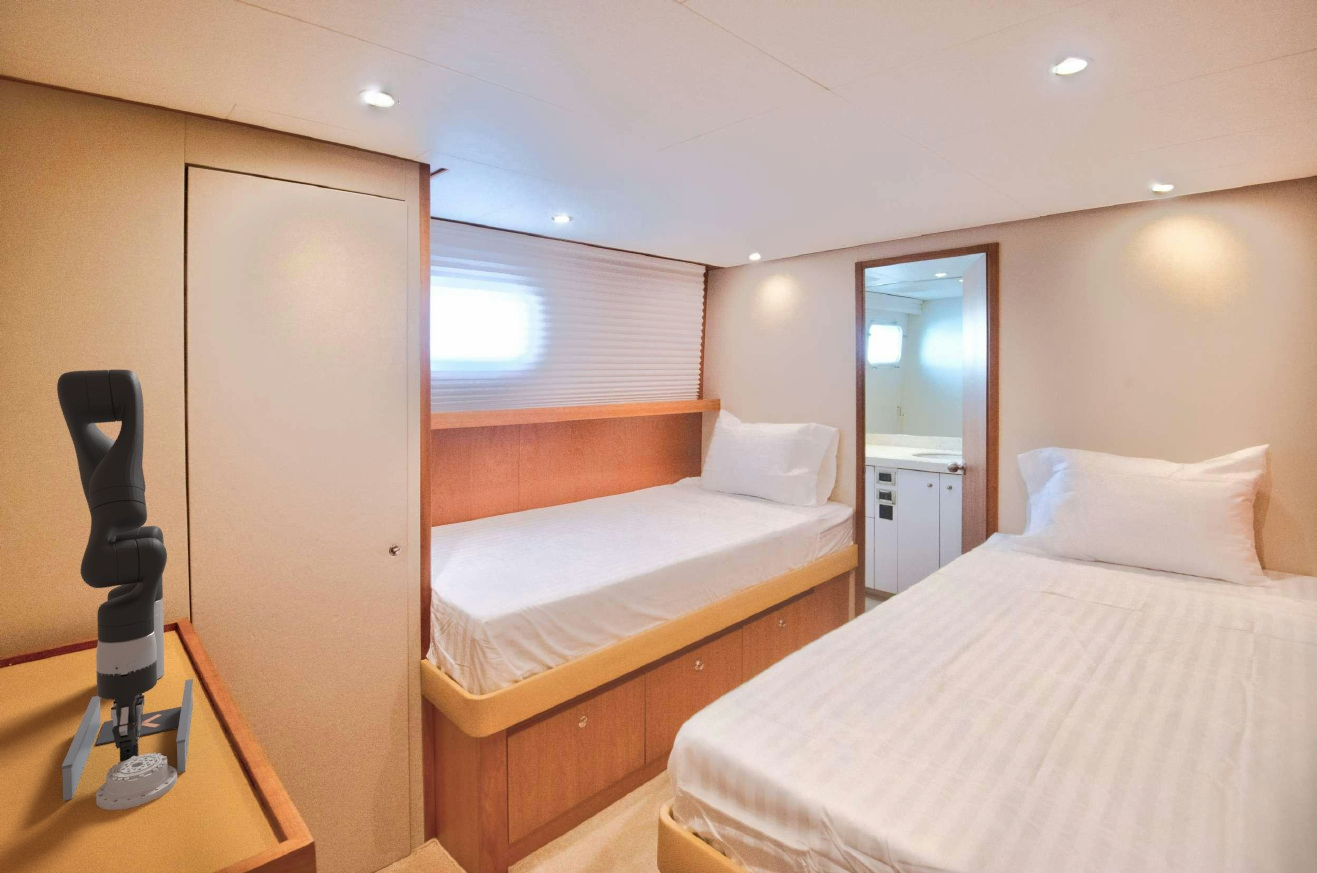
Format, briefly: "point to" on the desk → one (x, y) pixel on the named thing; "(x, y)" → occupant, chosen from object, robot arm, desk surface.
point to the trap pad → (146, 724)
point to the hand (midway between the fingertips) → (129, 764)
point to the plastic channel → (89, 730)
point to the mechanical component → (136, 782)
